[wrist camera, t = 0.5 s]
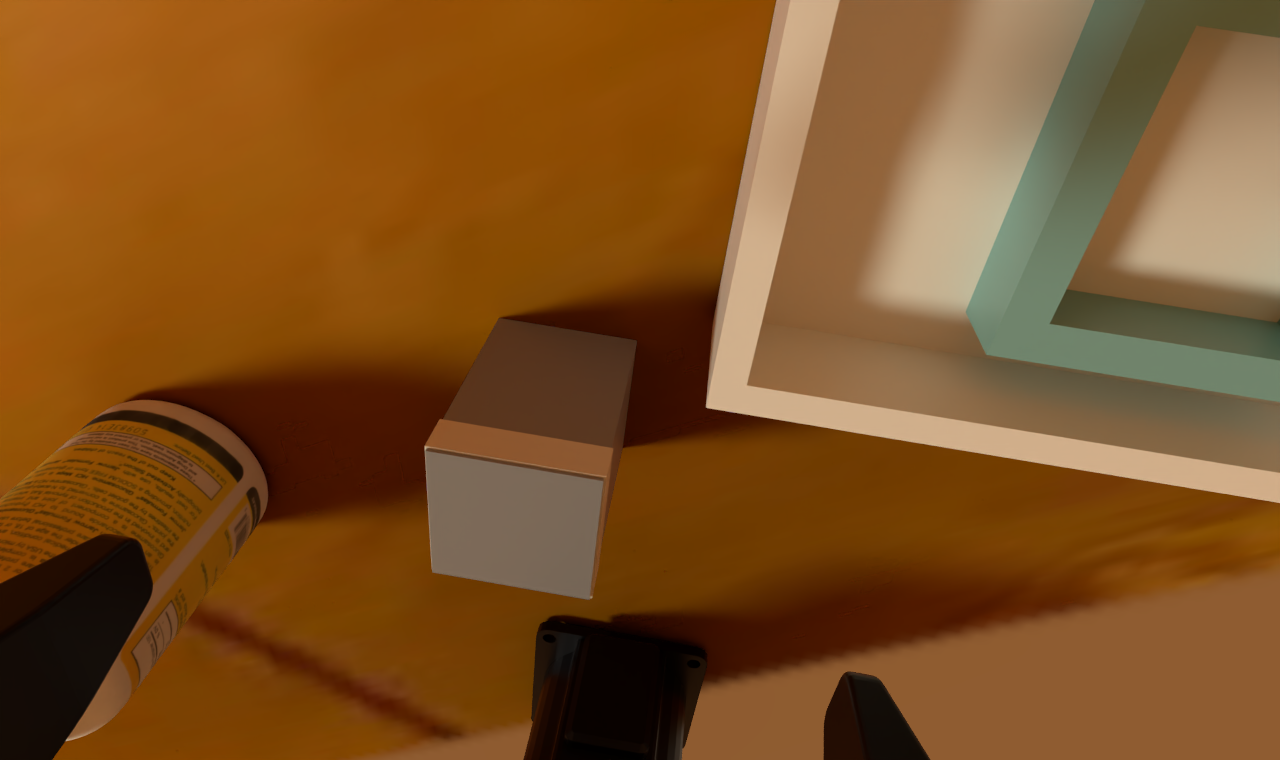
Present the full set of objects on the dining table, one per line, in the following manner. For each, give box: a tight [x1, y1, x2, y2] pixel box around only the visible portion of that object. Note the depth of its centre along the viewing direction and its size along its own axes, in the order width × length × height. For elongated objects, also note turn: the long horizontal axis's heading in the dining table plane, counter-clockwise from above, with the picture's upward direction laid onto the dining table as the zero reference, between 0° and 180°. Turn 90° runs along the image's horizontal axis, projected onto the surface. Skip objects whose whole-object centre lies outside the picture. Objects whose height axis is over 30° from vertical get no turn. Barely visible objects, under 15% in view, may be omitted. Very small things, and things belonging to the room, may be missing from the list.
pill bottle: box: [0, 400, 268, 741], centre depth 22 cm, size 6×6×11 cm
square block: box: [425, 318, 637, 600], centre depth 20 cm, size 4×4×6 cm
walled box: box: [706, 0, 1280, 503], centre depth 16 cm, size 12×16×4 cm
